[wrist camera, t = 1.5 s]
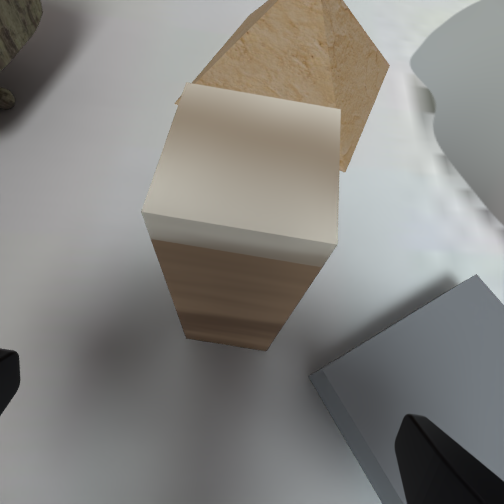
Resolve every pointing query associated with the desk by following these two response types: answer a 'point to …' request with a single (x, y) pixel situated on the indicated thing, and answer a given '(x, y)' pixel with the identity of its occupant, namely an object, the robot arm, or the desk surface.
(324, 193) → the walnut box
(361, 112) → the model pyramid
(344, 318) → the desk surface
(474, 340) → the plate
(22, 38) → the tabletop clock
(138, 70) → the desk surface
